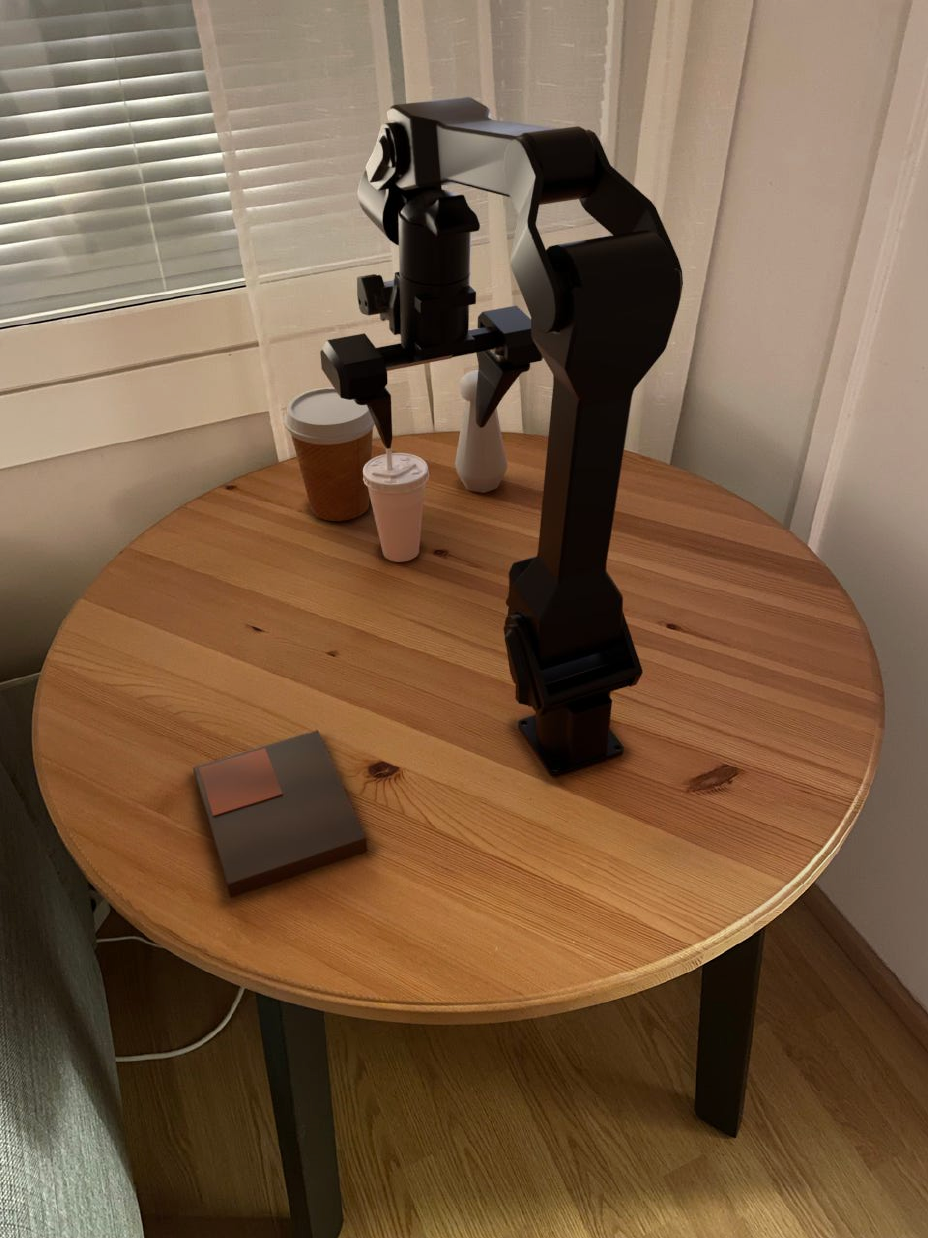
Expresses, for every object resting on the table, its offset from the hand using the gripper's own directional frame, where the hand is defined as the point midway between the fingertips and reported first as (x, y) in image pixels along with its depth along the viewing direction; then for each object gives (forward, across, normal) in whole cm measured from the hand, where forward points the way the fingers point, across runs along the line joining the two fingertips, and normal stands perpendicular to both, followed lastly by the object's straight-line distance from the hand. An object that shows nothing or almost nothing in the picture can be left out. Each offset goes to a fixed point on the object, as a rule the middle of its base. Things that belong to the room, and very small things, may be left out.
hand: (434, 435), depth 92 cm
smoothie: (+15, +3, -2) cm, 15 cm away
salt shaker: (+16, -10, -11) cm, 22 cm away
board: (+12, +24, +26) cm, 37 cm away
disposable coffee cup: (+16, +5, -13) cm, 22 cm away
